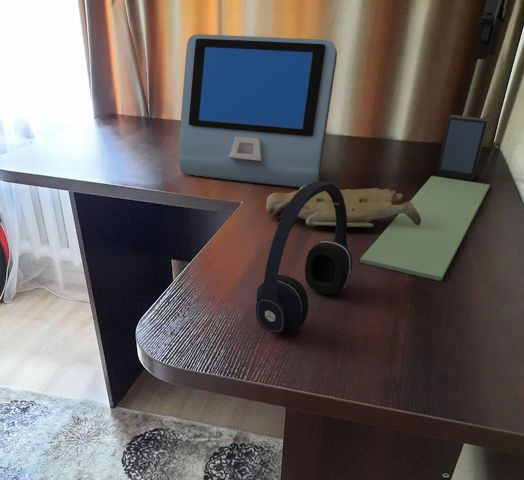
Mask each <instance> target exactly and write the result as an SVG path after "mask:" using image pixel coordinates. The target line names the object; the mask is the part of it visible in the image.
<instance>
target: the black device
mask: <svg viewBox="0 0 524 480" xmlns="http://www.w3.org/2000/svg"><path fill="white" fill-rule="evenodd" d="M489 123H490V118H484V117H476V116H475V117H474V116H465V115H456V114H451V115H448V118H447V123H446V126H445V127H446V128H445V132H444V137H443V142H442V146H441V150H440V156H439V160H438V165H437V170H436V175H435V176H436V177H442V178H449V179H455V180H462V181H468V182H473V181H474V179H475V178H476V173H477V169H478V166H479V161H480V157H481V153H482V150H483V147H484V146H483V145H484V142H485V138H486V134H487V130H488V126H489Z"/></svg>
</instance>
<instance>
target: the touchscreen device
mask: <svg viewBox="0 0 524 480" xmlns="http://www.w3.org/2000/svg"><path fill="white" fill-rule="evenodd" d="M337 59H338V52H337V48H336V46H335V43H334V42H333V41H331V40H328V39H318V38H317V39H316V38H296V37H295V38H293V37H273V36H272V37H271V36H250V35H249V36H248V35H225V34H206V33H205V34H202V33H201V34H200V33H197V34H193V35H191V36H189V37H188V39H187V43H186V51H185V62H184V73H183V88H182V99H181V110H180V111H181V112H180V122H179V123H180V131H179V143H178V144H179V145H178V165H179V172H180V173H181V174H183V175H186V174H187V176H191V175H195V176H194V177H199V176H203V177H202V178H207V177H210V178H209V179H215V178H218V179H217V180H224V179H225V181H232V180H233V181H234V182H241V183H249V184H251V183H252V184H258V185H267V186H277V187H285V186H286V188H296V189H300V188H301V187H302V186H305V185H308V184H310V183H313V182H319V181H320V176H321V168H322V162H323V155H324V149H325V148H324V147H325V141H326V134H327V128H328V122H329V121H328V120H329V113H330V107H331V100H332V94H333V88H334V87H333V86H334V79H335V72H336V67H337ZM233 181H232V182H233Z"/></svg>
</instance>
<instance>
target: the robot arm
mask: <svg viewBox="0 0 524 480" xmlns="http://www.w3.org/2000/svg"><path fill="white" fill-rule="evenodd" d="M507 5H508V0H486V2H485V6H484V9H483V13H482V16H481V18H479V19H478V23H477V24H478V25H480V30H479V34H478V38H477V39H478V40H477V44H476V48H475V51H474V60H485V61H486V60H488V57H489V55H495V54H496V50H497V45H498V42H499V37H500V33H501V29H502V25H503V23H506V22H507V17H506V9H507Z"/></svg>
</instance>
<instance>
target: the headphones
mask: <svg viewBox="0 0 524 480" xmlns="http://www.w3.org/2000/svg"><path fill="white" fill-rule="evenodd" d="M335 185H336V184H334V183H331V182H326V181H322V180H321V181H320V180H319V182H313V183H310V184H308V185H307V186H305V187H304V188H302V189H301V190H300V191H299V192H298V193H296V194H295V195H294V197H293V198H292V200H291V201H290V203H289V204H288V206H287V208H286V210H285V212H284V214H283V216H281V218H280V220H279V222H278V225H277V227H276V230H275V233H274V236H273V240H272V241H271V244H270V249H269V252H268V257H267V262H266V266H265V270H264V271H265V272H264V279H263V282H262V283H261V284H260V285H258V286H257V291H256V302H255V315H256V320H257V322H258V325H260V327H261V328H263V329H264V330H265V331H268V332H270V333H273V334H281V333H282V334H284V335H292V334H294V333H295V332H297V331H298V330H299V329H300V327H302V326H303V325H304V323H305V322H306V320H307V317H308V313H309V298H308V294H307V290H306V288H305V286H303V284H302V283H301V282H300V281H298V280H297V279H296V278H294V277H291V276H289V275H285V274H279V270H280V266H281V261H282V258H283V254H284V251H285V247H286V244H287V240H288V238H289V235H290V233H291V231H292V228H293V226H294V224H295V222H296V220H297V218H298V217H299V216H298V214H299V213H300V211H301V209H302V208H303V206H304V205H305V204H306V203H307V202H308V201H309V200H310V199H311V198H312V197H314V196H315V195H317V194H318V193H321V192H323V191H326V192H327V193H328V194H329V196H330V197H331V199H332V201H333V203H334V208H335V214H336V226H335V233H334V238H333V240H321V241H320V242H318V243H316V244H315V245H314V246H312V247H311V248H310V249H309V251H308V253H307V255H306V259H305V263H304V264H305V265H304V277H305V281H306V283H307V285H308V287H309V288H310V289H312V291H314V292H317V293H319V294H321V295H322V294H323V295H327V296H329V295H330V296H331V295H336V294H338V293H340V291H342V290H343V289H345V288H346V287H347V286H348V284H349V282H350V279H351V275H352V270H353V256H352V253H351V251H350V249H349V246H348V235H347V234H348V227H347V214H346V207H345V202H344V198H343V195H342V193H341V191H340V190H341V189H339V187H338V185H336V186H335Z"/></svg>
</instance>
